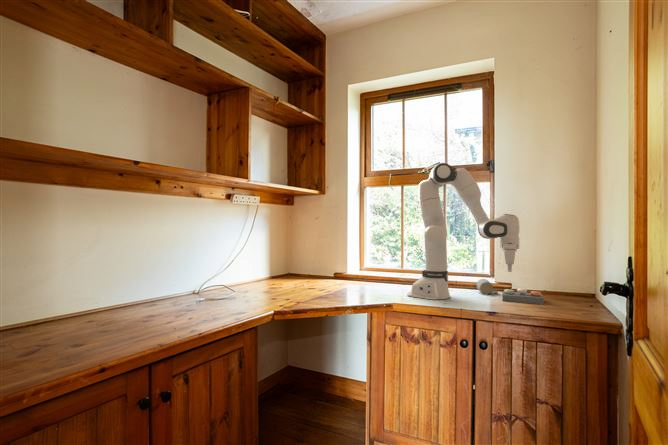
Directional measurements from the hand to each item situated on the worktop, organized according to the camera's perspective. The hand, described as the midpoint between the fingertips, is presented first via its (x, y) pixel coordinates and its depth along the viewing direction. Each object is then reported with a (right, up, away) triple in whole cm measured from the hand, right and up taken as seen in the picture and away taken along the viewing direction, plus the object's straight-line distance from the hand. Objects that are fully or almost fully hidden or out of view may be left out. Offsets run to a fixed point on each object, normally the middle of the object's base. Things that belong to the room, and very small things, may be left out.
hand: (509, 271), depth 178 cm
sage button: (-1, -14, -1) cm, 14 cm away
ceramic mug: (-5, -15, +15) cm, 22 cm away
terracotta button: (+10, -14, -6) cm, 18 cm away
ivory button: (+5, -13, -4) cm, 14 cm away
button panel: (+5, -14, -4) cm, 15 cm away
